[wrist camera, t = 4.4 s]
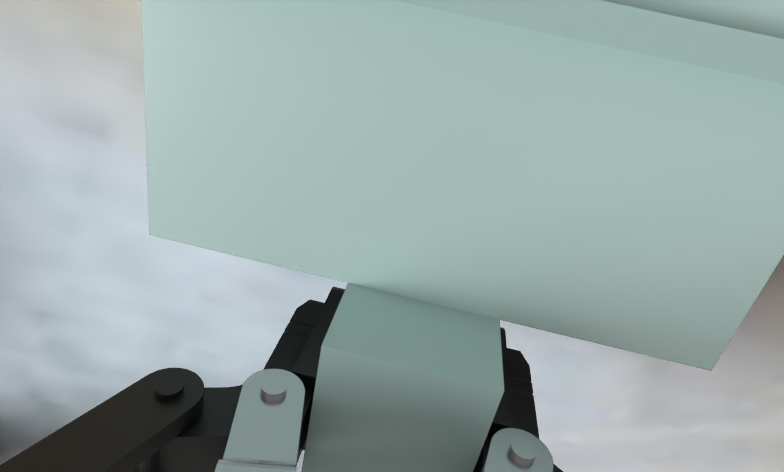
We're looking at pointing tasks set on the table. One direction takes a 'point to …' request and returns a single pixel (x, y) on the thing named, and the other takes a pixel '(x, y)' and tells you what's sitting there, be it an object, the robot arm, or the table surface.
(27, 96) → the table surface
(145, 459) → the robot arm
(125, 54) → the table surface
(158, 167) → the lid
